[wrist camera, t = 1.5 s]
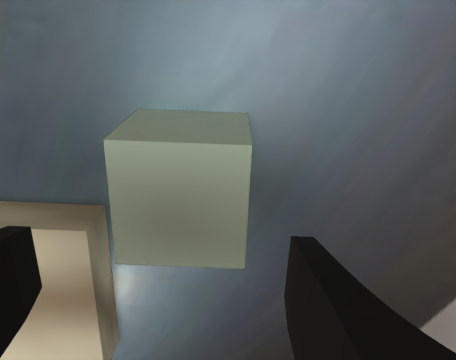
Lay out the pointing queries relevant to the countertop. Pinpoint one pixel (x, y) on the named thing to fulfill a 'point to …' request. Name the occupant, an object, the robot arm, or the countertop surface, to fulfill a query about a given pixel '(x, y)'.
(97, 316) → the maple block
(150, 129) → the green cube
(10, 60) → the countertop surface
